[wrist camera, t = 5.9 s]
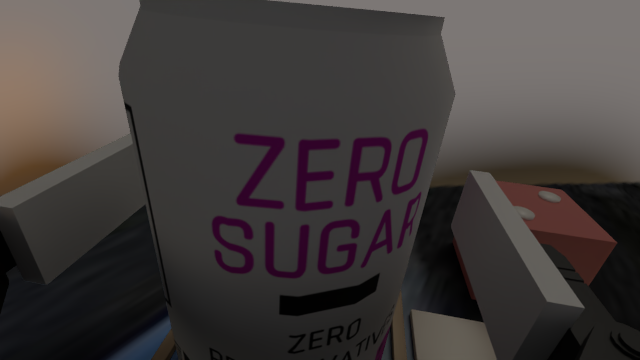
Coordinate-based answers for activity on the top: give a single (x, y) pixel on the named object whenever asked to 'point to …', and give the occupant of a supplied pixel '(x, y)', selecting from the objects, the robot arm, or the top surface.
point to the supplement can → (283, 168)
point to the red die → (557, 228)
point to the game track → (416, 338)
